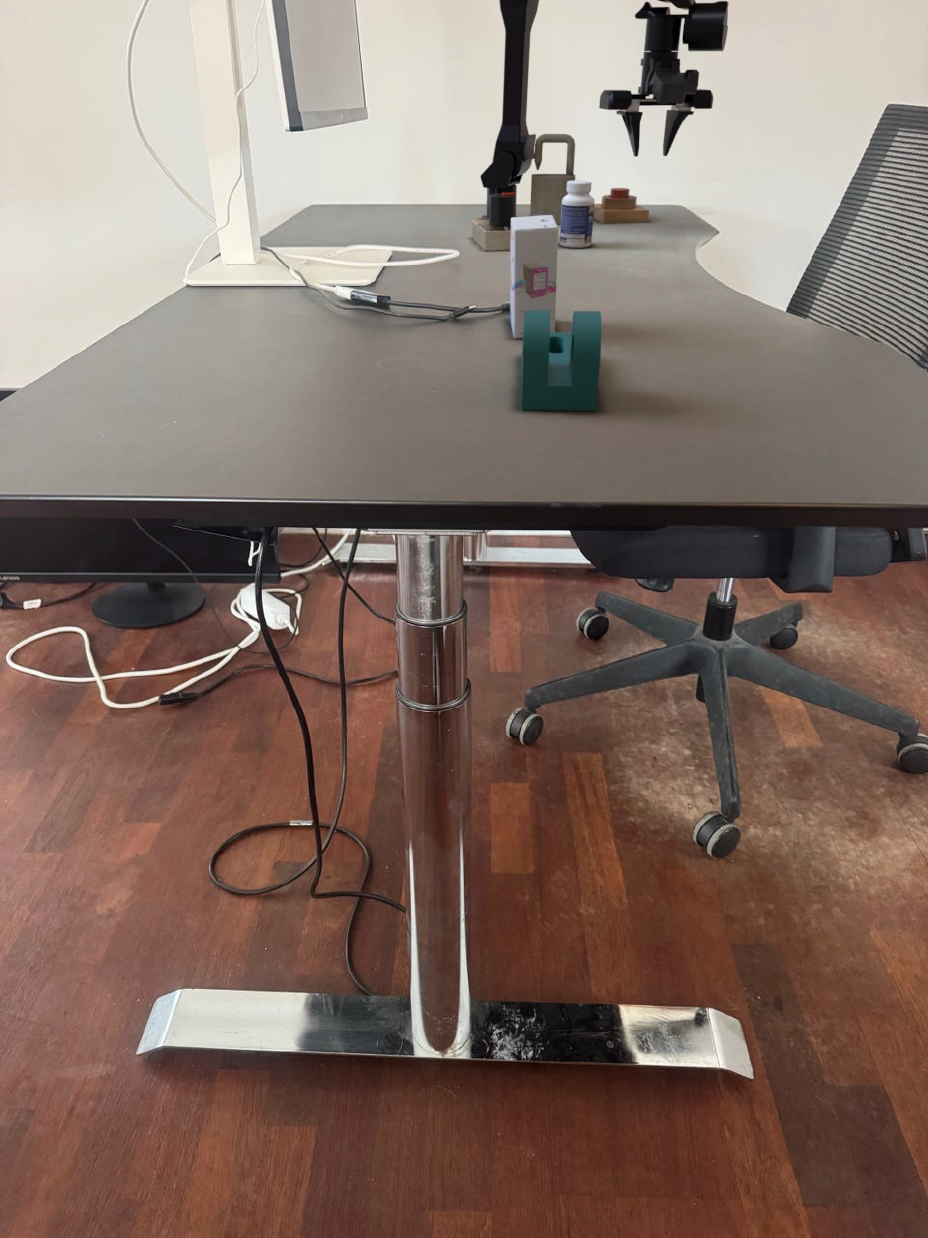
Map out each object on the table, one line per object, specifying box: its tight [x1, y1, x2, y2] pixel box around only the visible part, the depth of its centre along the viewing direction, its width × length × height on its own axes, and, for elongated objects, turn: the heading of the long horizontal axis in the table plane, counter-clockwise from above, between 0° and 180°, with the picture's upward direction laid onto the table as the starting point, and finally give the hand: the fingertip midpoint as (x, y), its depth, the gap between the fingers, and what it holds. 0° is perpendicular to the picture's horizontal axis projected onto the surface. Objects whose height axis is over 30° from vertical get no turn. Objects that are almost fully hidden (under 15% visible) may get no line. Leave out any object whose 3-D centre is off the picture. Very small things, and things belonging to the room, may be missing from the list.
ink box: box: [509, 215, 559, 339], centre depth 100 cm, size 9×5×12 cm, turn 1°
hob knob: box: [489, 193, 515, 227], centre depth 146 cm, size 4×4×5 cm
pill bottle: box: [559, 180, 595, 249], centre depth 145 cm, size 5×5×10 cm
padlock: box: [529, 133, 576, 225], centre depth 164 cm, size 4×8×15 cm, turn 85°
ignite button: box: [609, 187, 631, 198], centre depth 169 cm, size 4×4×2 cm
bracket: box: [520, 310, 602, 412], centre depth 85 cm, size 18×7×8 cm, turn 177°
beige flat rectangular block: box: [471, 219, 511, 252], centre depth 149 cm, size 12×10×3 cm
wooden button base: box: [593, 194, 650, 225], centre depth 170 cm, size 10×9×4 cm
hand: (650, 155), depth 155 cm, fingers open, 5 cm apart
